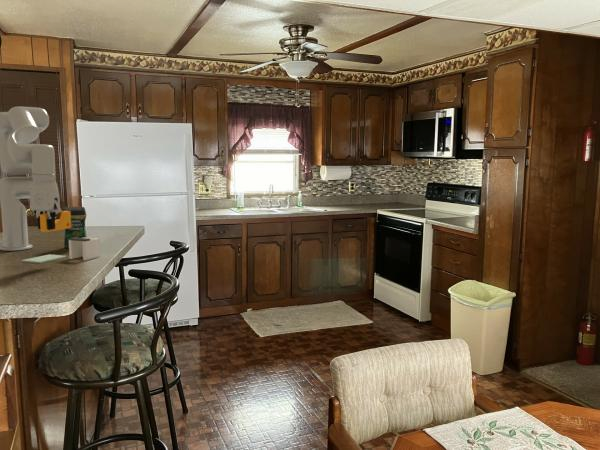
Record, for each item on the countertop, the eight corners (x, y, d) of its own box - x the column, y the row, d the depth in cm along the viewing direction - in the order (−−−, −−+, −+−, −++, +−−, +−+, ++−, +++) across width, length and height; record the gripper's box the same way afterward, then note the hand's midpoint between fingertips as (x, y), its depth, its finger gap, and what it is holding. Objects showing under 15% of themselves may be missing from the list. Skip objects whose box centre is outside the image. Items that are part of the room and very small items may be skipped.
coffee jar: (63, 249, 220) (61, 207, 218) (65, 246, 228) (63, 206, 225) (87, 248, 224) (85, 207, 221) (88, 245, 231) (86, 205, 229)
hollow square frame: (69, 258, 200) (68, 238, 199) (84, 255, 207) (83, 235, 206) (85, 260, 197) (84, 239, 196) (100, 256, 205) (99, 236, 204)
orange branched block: (62, 227, 194) (61, 210, 193) (71, 227, 193) (70, 211, 192) (37, 231, 183) (36, 214, 182) (46, 232, 182) (45, 214, 181)
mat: (22, 261, 194) (22, 260, 194) (49, 255, 206) (49, 254, 206) (40, 263, 191) (40, 261, 191) (66, 257, 203) (66, 255, 203)
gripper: (18, 178, 181) (20, 228, 183) (53, 180, 175) (56, 231, 178) (35, 177, 188) (37, 226, 190) (70, 179, 182) (72, 229, 185)
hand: (46, 228), depth 184 cm, fingers closed on orange branched block, 3 cm apart
